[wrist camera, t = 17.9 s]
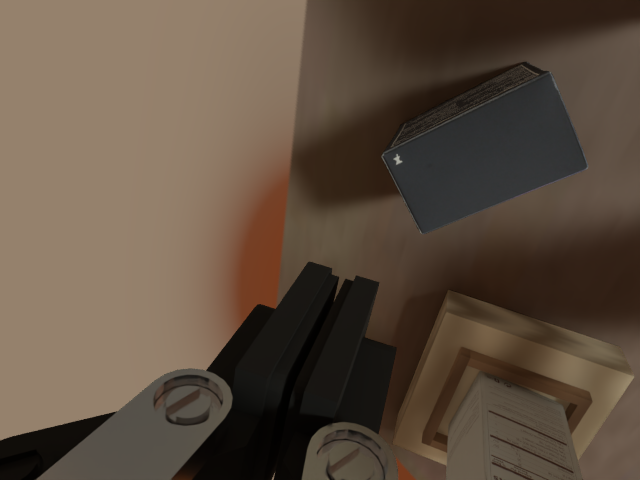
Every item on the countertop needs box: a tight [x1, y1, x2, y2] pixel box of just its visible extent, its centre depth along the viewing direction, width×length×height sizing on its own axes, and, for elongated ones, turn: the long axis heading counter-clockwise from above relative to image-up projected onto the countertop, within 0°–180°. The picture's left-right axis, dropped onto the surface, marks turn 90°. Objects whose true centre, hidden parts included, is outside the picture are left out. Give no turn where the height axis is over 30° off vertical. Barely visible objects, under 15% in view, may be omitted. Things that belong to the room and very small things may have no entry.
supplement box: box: [446, 371, 583, 480], centre depth 36 cm, size 7×7×13 cm
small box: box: [381, 62, 588, 234], centre depth 33 cm, size 11×6×10 cm, turn 119°
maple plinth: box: [392, 290, 634, 465], centre depth 43 cm, size 15×16×5 cm
